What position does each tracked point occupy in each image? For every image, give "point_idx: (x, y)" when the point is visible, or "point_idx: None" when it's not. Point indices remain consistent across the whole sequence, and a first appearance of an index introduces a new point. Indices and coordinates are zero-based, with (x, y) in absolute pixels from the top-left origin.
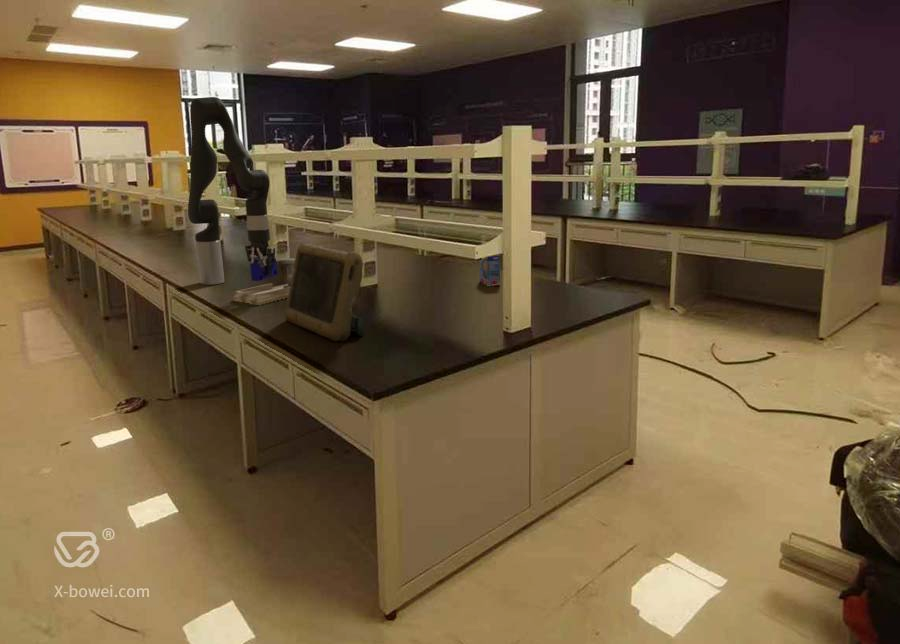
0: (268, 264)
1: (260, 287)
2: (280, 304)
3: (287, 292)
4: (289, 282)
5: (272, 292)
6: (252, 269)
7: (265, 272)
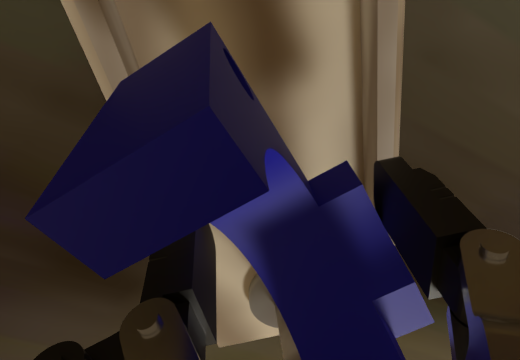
0: (57, 346)
1: (372, 150)
2: (15, 104)
3: None
4: None
5: None
6: (174, 84)
7: None
